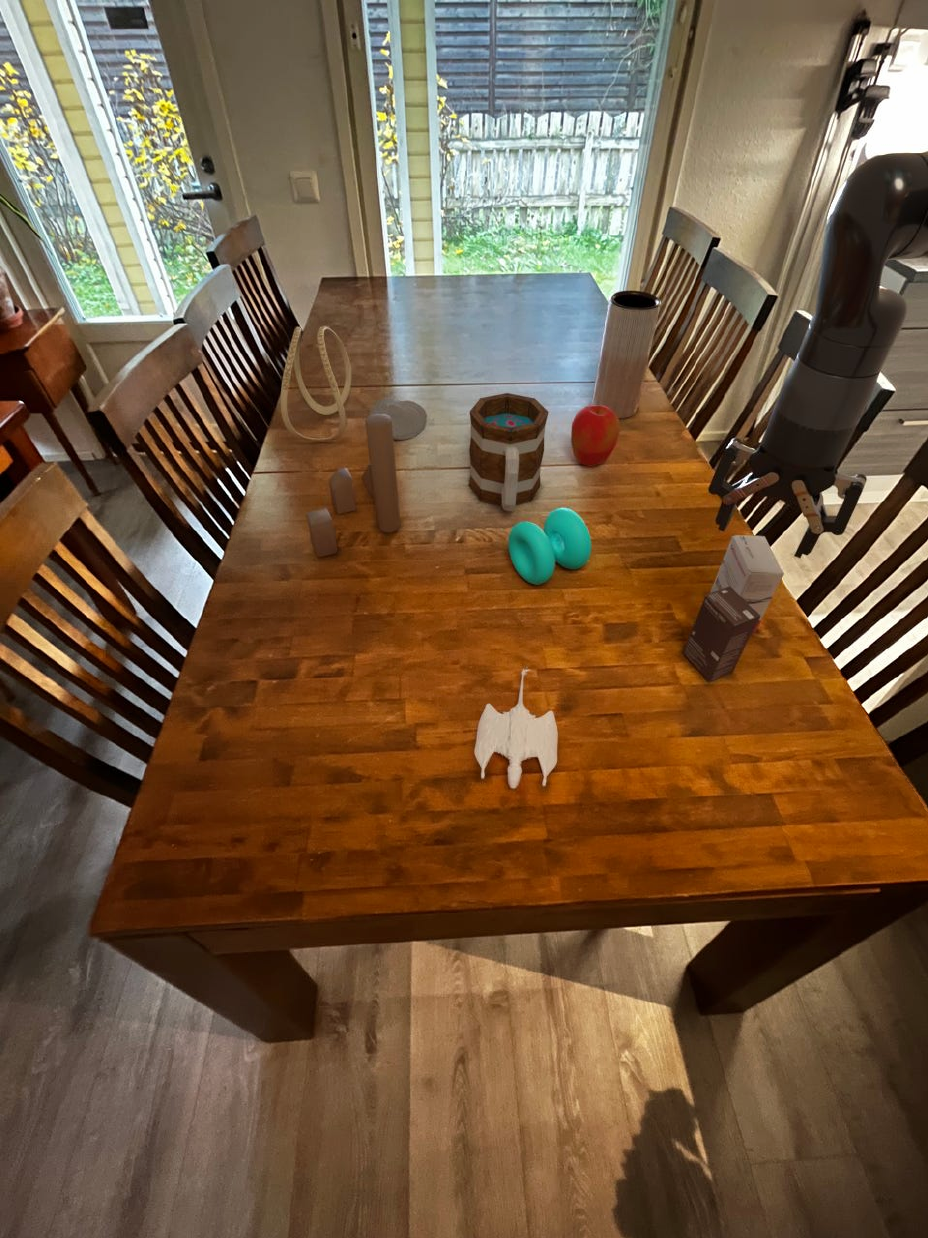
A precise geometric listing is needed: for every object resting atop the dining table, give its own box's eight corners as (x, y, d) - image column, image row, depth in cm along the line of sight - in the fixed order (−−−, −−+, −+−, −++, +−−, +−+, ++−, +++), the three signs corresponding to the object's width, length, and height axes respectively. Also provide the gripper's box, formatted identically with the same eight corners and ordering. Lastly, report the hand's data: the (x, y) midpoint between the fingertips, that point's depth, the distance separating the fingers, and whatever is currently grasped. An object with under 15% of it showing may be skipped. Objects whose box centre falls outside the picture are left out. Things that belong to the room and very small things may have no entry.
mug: (468, 465, 122) (469, 392, 111) (537, 466, 122) (544, 392, 111) (469, 528, 108) (470, 452, 98) (547, 528, 108) (556, 452, 98)
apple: (590, 480, 119) (600, 422, 110) (556, 460, 124) (564, 403, 115) (622, 463, 123) (635, 406, 114) (589, 444, 128) (598, 388, 119)
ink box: (756, 634, 92) (787, 574, 83) (723, 633, 92) (750, 573, 83) (739, 593, 98) (766, 533, 89) (708, 593, 98) (731, 533, 89)
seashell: (377, 414, 136) (361, 431, 128) (380, 389, 132) (363, 404, 124) (428, 429, 135) (415, 447, 127) (432, 404, 132) (419, 420, 124)
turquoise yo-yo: (589, 577, 100) (600, 527, 93) (538, 599, 96) (545, 549, 89) (552, 542, 106) (559, 493, 99) (503, 562, 102) (506, 512, 95)
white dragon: (484, 676, 86) (485, 657, 83) (559, 684, 85) (563, 665, 82) (468, 796, 73) (468, 778, 70) (555, 807, 72) (559, 789, 69)
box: (679, 654, 89) (703, 593, 80) (705, 645, 90) (732, 583, 81) (706, 685, 85) (735, 624, 76) (733, 675, 86) (764, 614, 77)
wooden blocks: (379, 474, 120) (368, 372, 105) (414, 533, 107) (408, 427, 93) (291, 494, 115) (267, 390, 101) (317, 558, 103) (294, 450, 88)
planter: (584, 399, 141) (601, 291, 125) (625, 395, 143) (647, 288, 126) (601, 421, 134) (621, 310, 118) (644, 416, 136) (670, 306, 120)
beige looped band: (350, 453, 125) (336, 353, 110) (290, 456, 124) (268, 355, 110) (355, 402, 140) (343, 307, 125) (301, 403, 139) (283, 309, 124)
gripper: (732, 403, 61) (688, 535, 72) (893, 446, 55) (818, 582, 67) (754, 374, 65) (709, 503, 77) (905, 411, 60) (832, 544, 71)
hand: (760, 540), depth 72 cm, fingers open, 8 cm apart
